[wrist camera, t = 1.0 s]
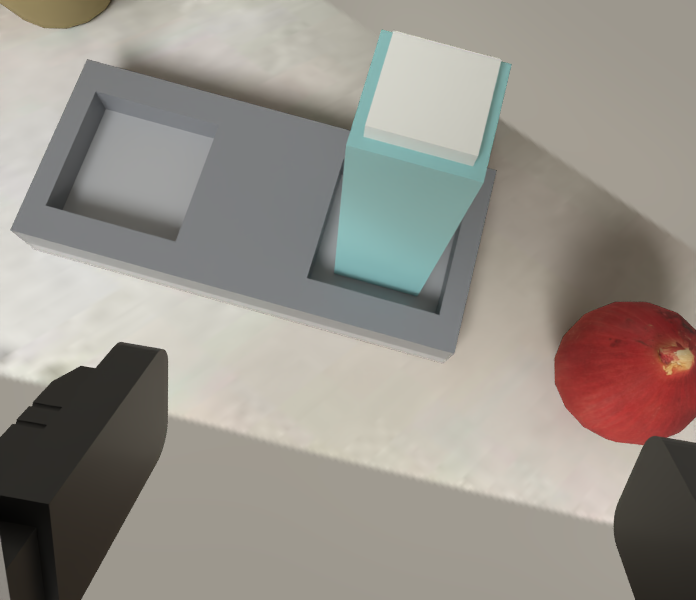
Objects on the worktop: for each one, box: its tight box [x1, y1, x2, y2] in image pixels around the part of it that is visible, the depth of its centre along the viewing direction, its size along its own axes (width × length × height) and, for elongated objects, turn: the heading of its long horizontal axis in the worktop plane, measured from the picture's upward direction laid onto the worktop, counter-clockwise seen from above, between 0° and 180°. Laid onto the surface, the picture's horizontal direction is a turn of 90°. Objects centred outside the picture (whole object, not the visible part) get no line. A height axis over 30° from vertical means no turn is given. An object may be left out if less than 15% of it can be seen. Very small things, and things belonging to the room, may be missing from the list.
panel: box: [11, 59, 497, 363], centre depth 30 cm, size 20×9×2 cm, turn 75°
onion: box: [555, 302, 696, 445], centre depth 26 cm, size 6×6×8 cm
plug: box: [334, 30, 511, 296], centre depth 24 cm, size 4×5×13 cm
